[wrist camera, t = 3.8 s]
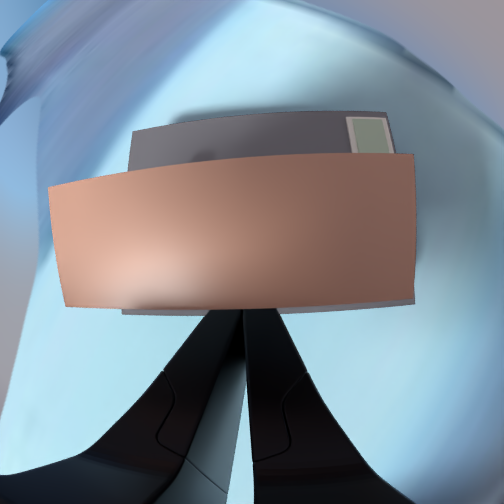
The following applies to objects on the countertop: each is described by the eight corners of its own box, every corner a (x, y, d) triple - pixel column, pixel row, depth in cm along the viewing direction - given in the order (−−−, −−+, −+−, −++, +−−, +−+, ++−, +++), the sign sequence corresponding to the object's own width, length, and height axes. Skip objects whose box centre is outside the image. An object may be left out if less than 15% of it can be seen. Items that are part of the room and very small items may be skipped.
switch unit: (394, 303, 16) (433, 304, 11) (146, 312, 17) (100, 315, 12) (373, 138, 18) (395, 91, 13) (152, 153, 19) (117, 113, 14)
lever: (326, 224, 14) (412, 298, 4) (198, 231, 15) (65, 306, 5) (324, 176, 14) (413, 154, 4) (194, 185, 14) (48, 187, 5)
